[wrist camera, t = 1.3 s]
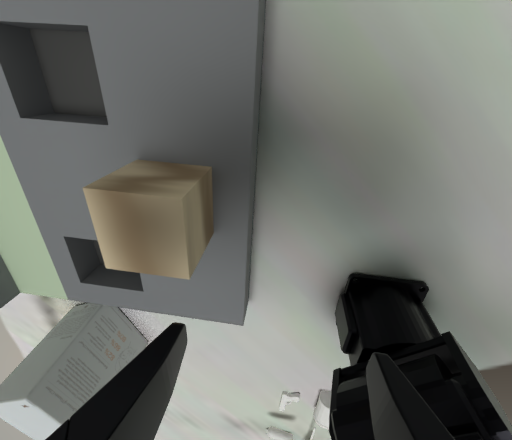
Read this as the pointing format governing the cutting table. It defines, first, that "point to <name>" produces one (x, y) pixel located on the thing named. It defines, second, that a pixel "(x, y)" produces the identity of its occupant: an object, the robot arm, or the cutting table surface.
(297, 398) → the miniature set
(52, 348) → the small box
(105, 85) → the board
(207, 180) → the maple block
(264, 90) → the cutting table surface
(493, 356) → the cutting table surface
